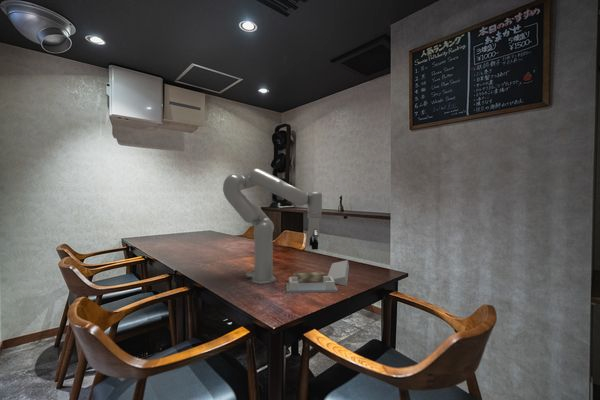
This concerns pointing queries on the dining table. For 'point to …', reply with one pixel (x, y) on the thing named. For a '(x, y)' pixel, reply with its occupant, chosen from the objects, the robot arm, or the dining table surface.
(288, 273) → the dining table surface
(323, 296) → the dining table surface
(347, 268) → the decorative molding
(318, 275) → the slat
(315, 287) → the cradle
